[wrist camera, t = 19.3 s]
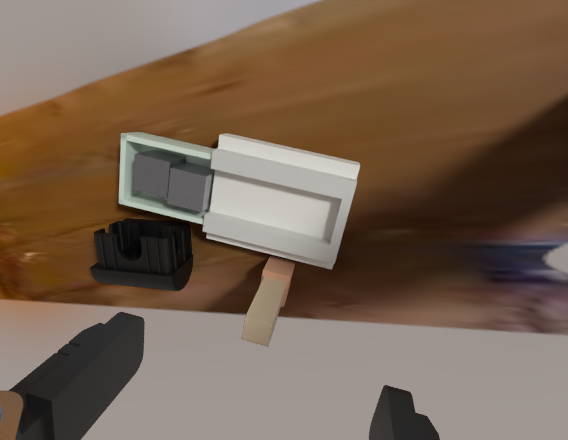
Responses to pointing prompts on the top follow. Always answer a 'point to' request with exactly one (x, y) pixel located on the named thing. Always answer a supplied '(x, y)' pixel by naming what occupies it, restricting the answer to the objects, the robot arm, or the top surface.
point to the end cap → (144, 254)
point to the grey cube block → (191, 186)
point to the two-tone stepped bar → (268, 301)
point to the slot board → (280, 199)
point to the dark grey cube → (154, 171)
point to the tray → (147, 142)
